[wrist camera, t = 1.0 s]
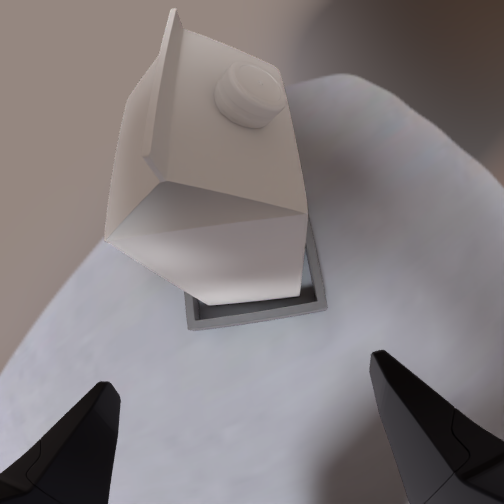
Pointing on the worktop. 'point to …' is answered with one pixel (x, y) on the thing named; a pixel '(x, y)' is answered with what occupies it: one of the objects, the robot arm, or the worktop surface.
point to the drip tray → (266, 315)
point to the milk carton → (210, 174)
